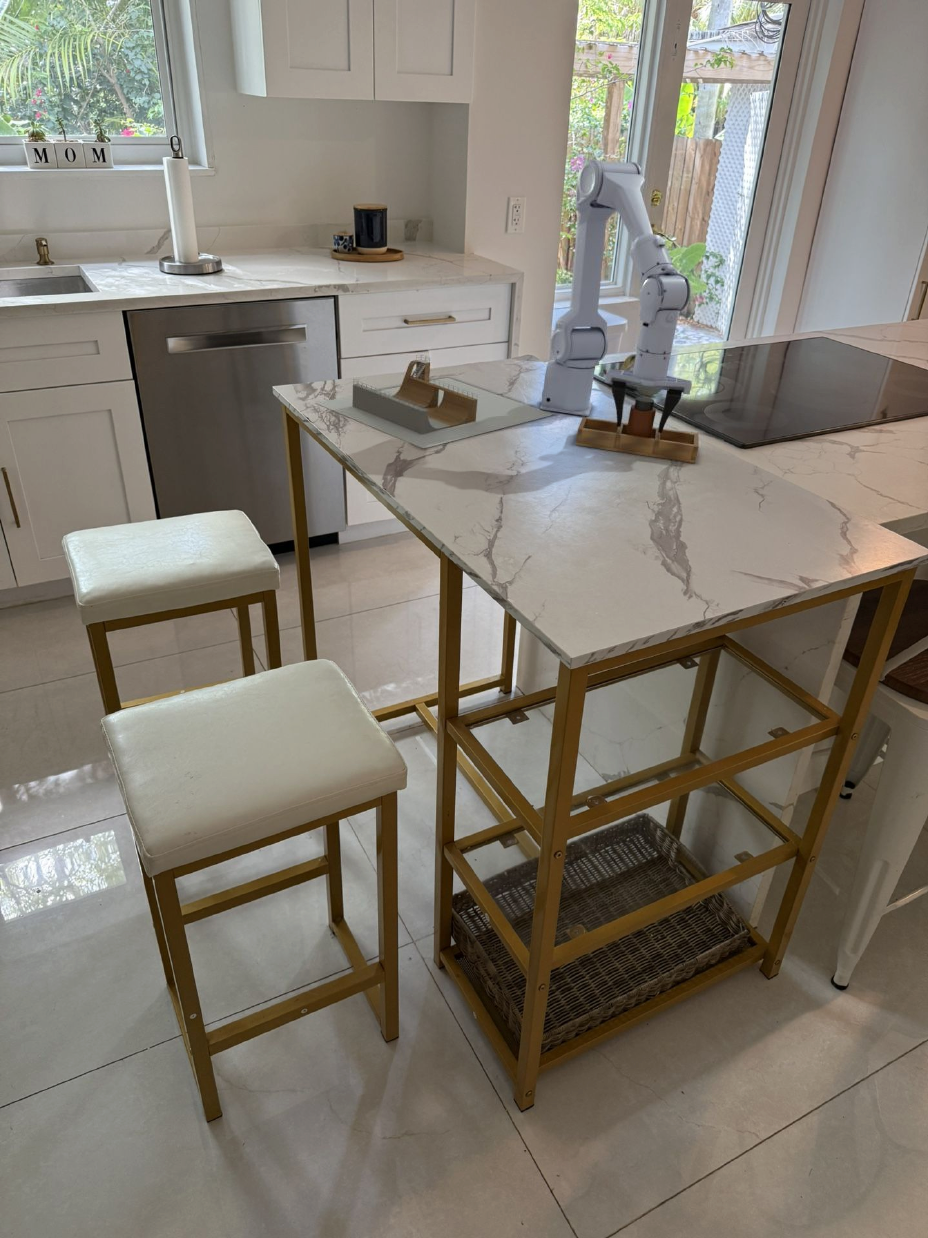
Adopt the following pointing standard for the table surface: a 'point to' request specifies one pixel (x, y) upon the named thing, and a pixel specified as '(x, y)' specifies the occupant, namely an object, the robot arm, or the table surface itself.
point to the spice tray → (638, 440)
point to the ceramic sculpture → (629, 366)
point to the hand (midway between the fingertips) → (639, 428)
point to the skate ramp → (432, 408)
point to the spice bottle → (641, 418)
